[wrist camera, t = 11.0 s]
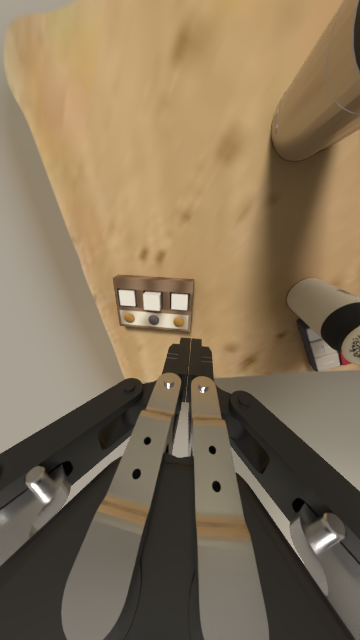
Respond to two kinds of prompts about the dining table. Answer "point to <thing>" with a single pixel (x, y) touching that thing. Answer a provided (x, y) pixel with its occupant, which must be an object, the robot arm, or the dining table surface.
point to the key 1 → (128, 297)
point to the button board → (152, 318)
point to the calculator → (319, 350)
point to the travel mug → (329, 315)
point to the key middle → (152, 300)
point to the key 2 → (179, 301)
